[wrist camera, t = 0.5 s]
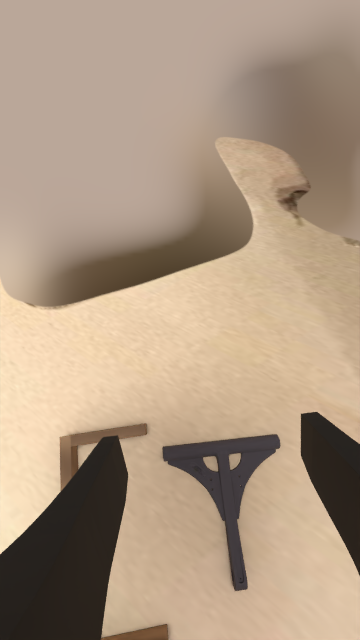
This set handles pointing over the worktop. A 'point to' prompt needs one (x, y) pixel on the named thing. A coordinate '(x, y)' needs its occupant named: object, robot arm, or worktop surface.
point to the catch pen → (154, 636)
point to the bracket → (225, 482)
